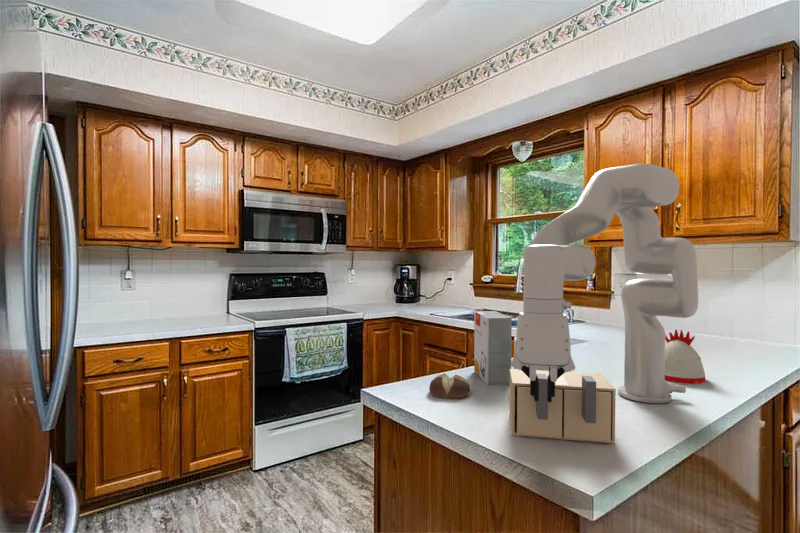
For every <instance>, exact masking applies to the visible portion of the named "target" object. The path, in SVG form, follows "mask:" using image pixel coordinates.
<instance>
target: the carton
mask: <svg viewBox="0 0 800 533" xmlns="http://www.w3.org/2000/svg"><path fill="white" fill-rule="evenodd" d="M536 373H539V374H546V376H547V378H548V375H549V371H543V370H536ZM582 376H592V377H593V379H594V380H595V381H596V391H599V392H611V442H605V441H593V440H581V439H568V438H564V389H566V390H582ZM517 387H530V378H529V377H528V376H527V375H526V374H525V373H524V372H523V371H521V370H519V369H514V368H511V369H510V384H509V422H510V431H511V435H512V436H515V437H516V436H518V437H530V438H531V437H532V438H542V439H556V440H566V441H578V442H592V443H603V444H616V391H617V390H616V388H615V387H614V386H613V385H612V383H611V382H609V380H608V379H607V378H606V377H605V376H604V375H603V374H602V373H601V372H600V373H597V372H581V371H579V372H578V371H569V372H566V373H564V374H563V375H561V376H560V377H559V378H558V379H557V381H556V382H555V389H562V438H556V437H544V436H531V435H519V434H517Z"/></svg>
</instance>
